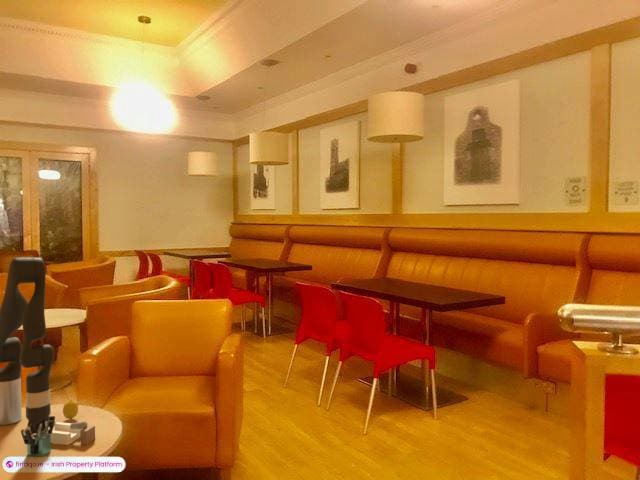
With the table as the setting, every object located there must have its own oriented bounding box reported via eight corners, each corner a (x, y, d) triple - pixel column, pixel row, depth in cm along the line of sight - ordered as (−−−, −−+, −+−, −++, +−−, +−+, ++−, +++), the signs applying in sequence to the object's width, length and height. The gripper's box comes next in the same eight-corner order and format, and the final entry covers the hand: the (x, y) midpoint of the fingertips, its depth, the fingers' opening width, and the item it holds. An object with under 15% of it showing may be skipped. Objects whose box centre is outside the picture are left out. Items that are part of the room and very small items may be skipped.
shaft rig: (26, 440, 192) (26, 420, 192) (43, 430, 201) (43, 411, 200) (83, 447, 187) (82, 427, 187) (98, 436, 196) (98, 417, 195)
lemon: (81, 417, 214) (80, 398, 213) (73, 422, 208) (73, 402, 208) (68, 416, 214) (67, 397, 214) (60, 421, 209) (59, 402, 208)
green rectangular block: (27, 454, 181) (27, 437, 181) (36, 449, 185) (35, 433, 184) (42, 456, 180) (42, 439, 179) (50, 451, 184) (50, 434, 183)
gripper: (43, 394, 189) (44, 441, 190) (12, 409, 175) (13, 459, 176) (61, 396, 187) (62, 443, 188) (32, 411, 173) (33, 462, 174)
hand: (39, 450), depth 182 cm, fingers closed on green rectangular block, 4 cm apart
